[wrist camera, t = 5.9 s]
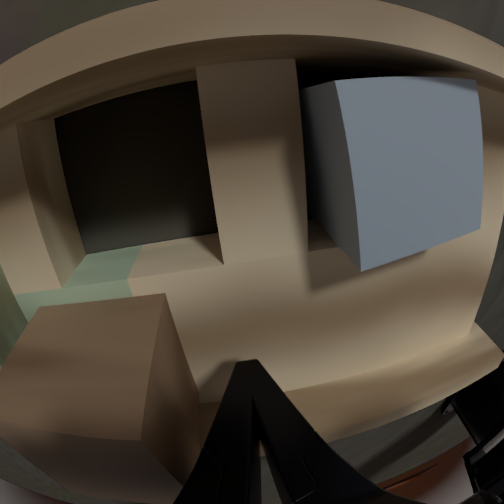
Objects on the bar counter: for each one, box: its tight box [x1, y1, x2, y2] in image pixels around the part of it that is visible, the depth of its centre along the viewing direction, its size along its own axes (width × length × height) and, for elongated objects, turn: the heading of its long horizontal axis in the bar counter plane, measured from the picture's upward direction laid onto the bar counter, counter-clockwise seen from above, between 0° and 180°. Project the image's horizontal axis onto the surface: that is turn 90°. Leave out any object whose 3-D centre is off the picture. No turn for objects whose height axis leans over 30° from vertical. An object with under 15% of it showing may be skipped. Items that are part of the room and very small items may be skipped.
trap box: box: [0, 0, 504, 456], centre depth 9 cm, size 14×22×5 cm, turn 96°
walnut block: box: [0, 293, 200, 504], centre depth 7 cm, size 5×5×5 cm
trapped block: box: [298, 76, 483, 272], centre depth 8 cm, size 4×4×4 cm
